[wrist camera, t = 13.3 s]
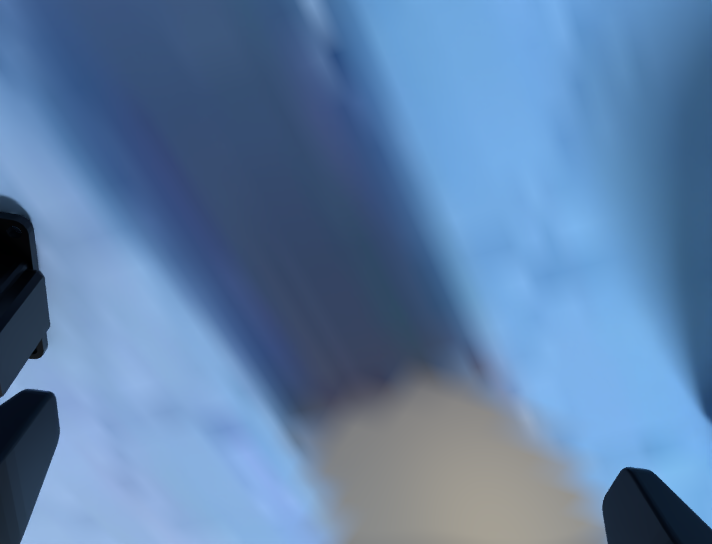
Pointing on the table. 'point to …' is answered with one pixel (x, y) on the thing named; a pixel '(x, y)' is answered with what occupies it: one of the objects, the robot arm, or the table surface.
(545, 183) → the table surface
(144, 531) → the table surface
